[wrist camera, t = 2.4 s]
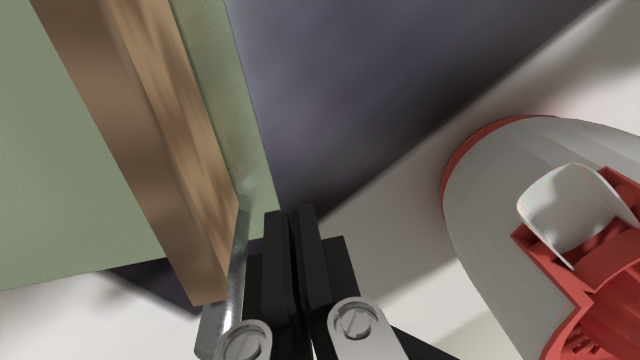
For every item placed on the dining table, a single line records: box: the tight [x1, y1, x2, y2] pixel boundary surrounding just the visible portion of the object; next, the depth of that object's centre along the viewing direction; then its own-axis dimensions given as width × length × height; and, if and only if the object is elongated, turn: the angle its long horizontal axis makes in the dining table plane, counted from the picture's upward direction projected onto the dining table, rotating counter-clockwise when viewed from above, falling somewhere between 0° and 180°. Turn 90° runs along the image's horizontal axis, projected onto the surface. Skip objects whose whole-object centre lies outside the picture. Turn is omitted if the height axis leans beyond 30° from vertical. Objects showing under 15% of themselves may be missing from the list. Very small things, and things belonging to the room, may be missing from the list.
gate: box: [29, 0, 239, 307], centre depth 19 cm, size 20×2×10 cm, turn 9°
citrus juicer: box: [441, 115, 640, 360], centre depth 23 cm, size 16×17×20 cm
